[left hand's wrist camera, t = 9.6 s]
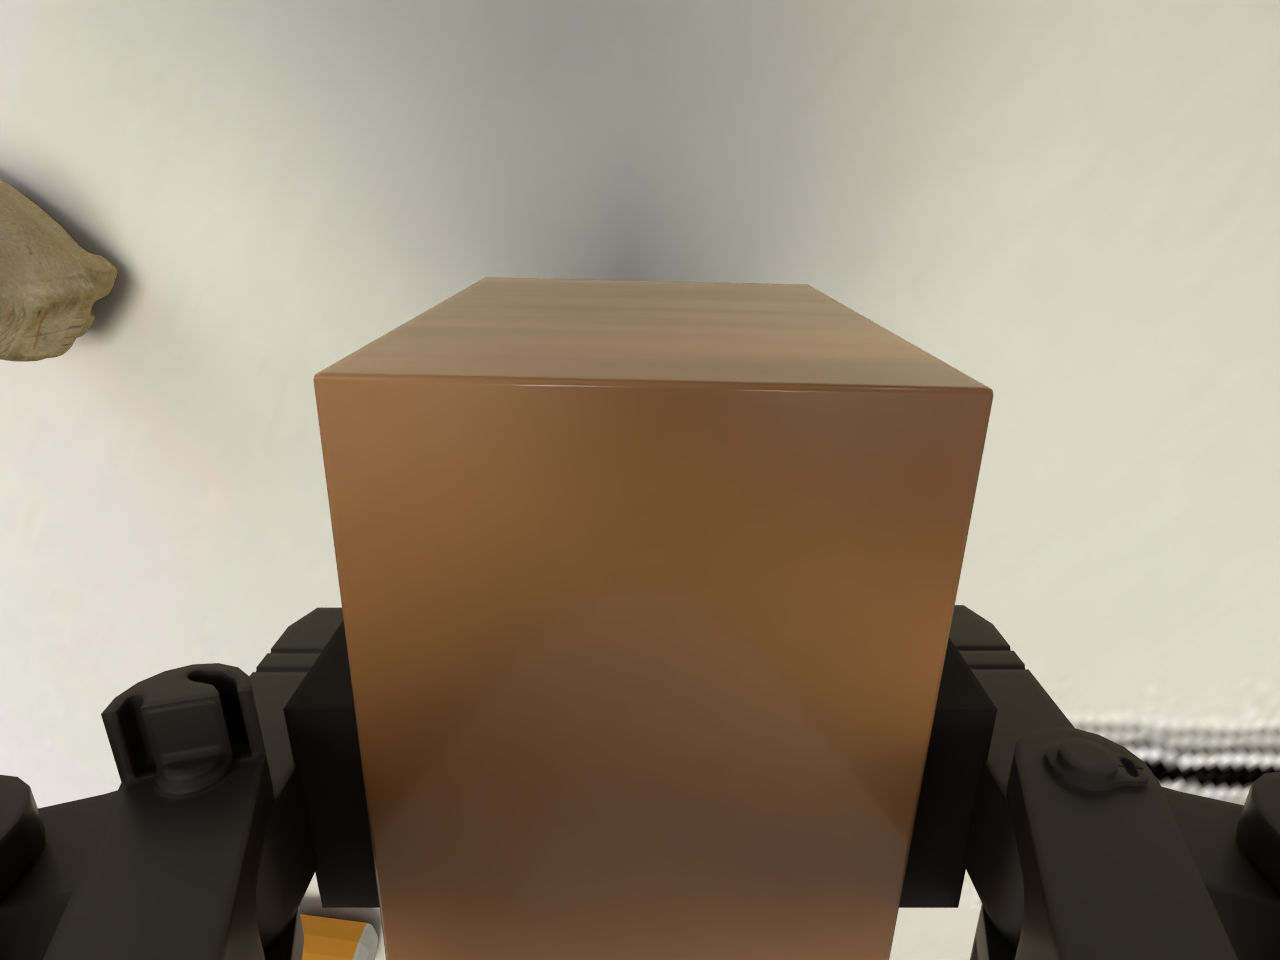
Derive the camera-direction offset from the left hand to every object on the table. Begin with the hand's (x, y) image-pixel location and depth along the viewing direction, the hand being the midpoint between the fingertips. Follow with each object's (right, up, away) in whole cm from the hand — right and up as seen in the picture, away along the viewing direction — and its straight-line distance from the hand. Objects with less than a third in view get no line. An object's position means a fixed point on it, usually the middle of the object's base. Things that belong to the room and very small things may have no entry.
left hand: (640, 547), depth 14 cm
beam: (-1, -32, +13) cm, 35 cm away
